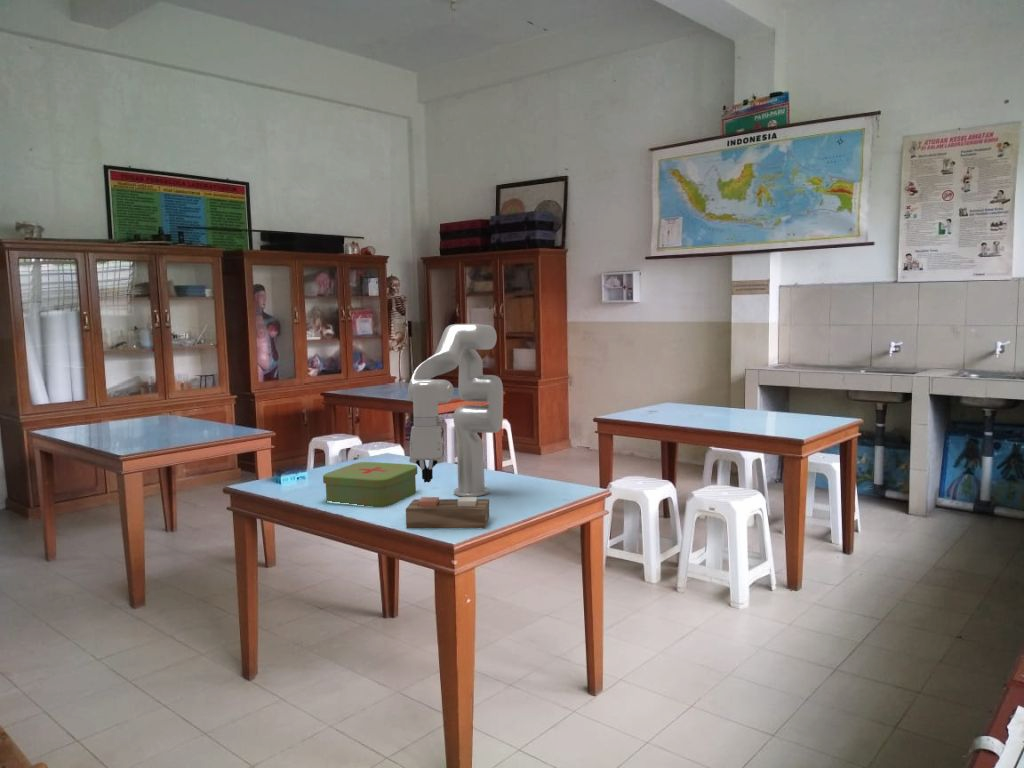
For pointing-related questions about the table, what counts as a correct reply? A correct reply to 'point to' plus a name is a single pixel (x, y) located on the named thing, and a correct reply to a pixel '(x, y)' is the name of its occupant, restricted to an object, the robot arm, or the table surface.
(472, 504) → the key ivory
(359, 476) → the first aid kit
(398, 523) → the table surface
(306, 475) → the table surface
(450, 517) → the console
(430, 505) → the key red
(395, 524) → the table surface
